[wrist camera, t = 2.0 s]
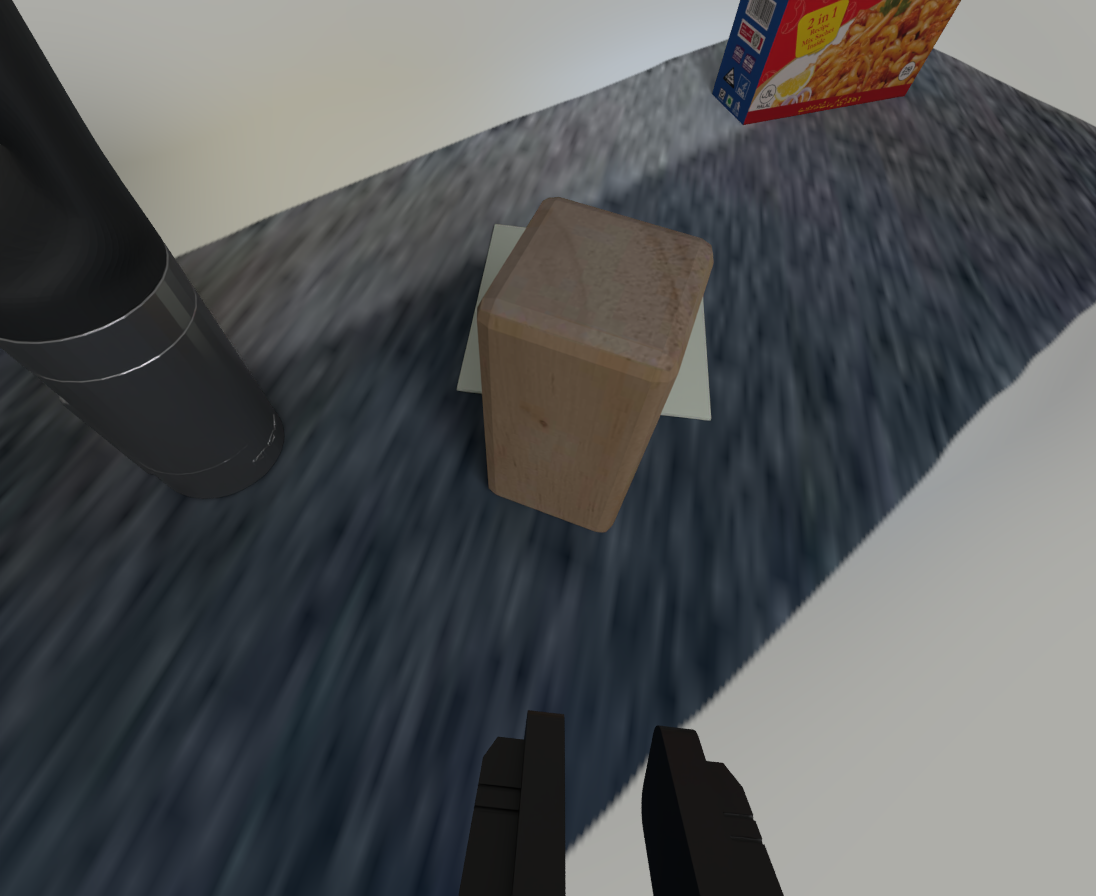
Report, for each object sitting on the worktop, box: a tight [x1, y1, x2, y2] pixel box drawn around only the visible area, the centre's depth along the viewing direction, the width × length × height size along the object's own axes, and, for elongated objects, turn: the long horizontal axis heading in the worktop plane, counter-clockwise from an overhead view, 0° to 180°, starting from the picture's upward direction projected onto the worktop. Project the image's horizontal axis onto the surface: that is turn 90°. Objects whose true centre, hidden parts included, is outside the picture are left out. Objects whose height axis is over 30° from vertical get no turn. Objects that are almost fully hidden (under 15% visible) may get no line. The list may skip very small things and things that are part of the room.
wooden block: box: [477, 197, 713, 532], centre depth 35 cm, size 10×10×20 cm
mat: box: [457, 224, 711, 420], centre depth 52 cm, size 22×22×1 cm
